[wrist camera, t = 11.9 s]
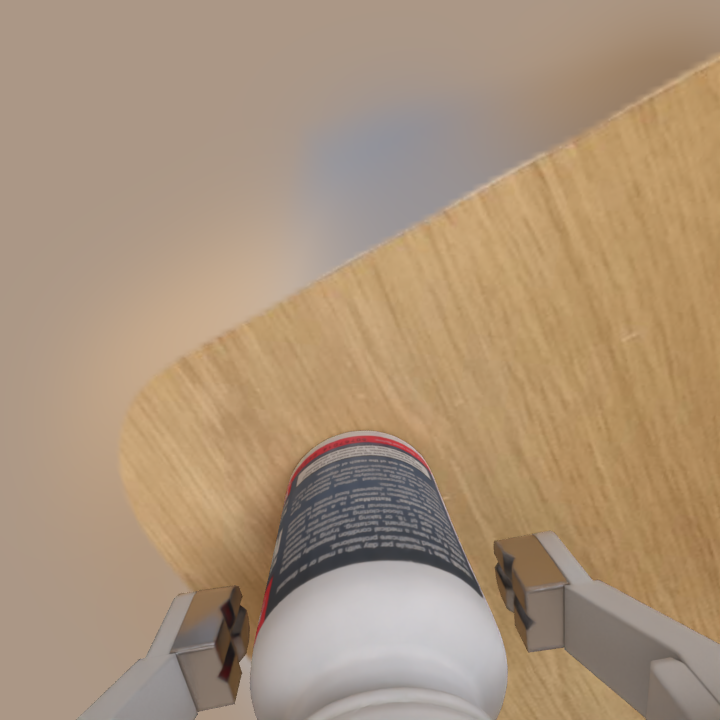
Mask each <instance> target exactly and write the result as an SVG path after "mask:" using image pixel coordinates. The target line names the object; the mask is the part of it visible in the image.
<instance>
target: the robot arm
mask: <svg viewBox="0 0 720 720" xmlns="http://www.w3.org/2000/svg"><path fill="white" fill-rule="evenodd" d="M494 554H495V556H496V558H497V560H498V563H497V565H496V566H495V573H496V580H497V584H498V588H499V591H500V594H501V597H502V599H503V601H504V603H505V606H506V608H507V609H509V610H510V611H511V612H513V613H514V619H515V626H516V628H517V631H518V633H519V635H520V637H521V639H522V641H523V643H524V645H525V647H526V649H527V651H528V652H535V651H542V650H549V649H556V648H563V647H565V650H566V651H567V652H568V653H569V654H571V655H572V656H573V657H574V658H575V659H576V660H578V661H579V662H580V663H581V664H582V665H584V666H585V667H586V668H587V669H588V670H589V671H591V672H592V673H593V674H594V675H595V676H597V677H598V678H599V679H600V680H601V681H602V682H604V683H605V684H606V685H607V686H608V687H610V688H611V689H612V690H613V691H614V692H615V693H617V694H618V695H619V696H620V697H621V698H623V699H624V700H625V701H626V702H627V703H628V704H630V705H631V706H632V707H633V708H634V709H636V710H637V711H638V712H639V713H640V714H641V715H643V716H644V717H645V718H646V720H720V644H718V643H716V642H714V641H712V640H711V639H709V638H707V637H705V636H703V635H701V634H699V633H698V632H696V631H694V630H692V629H690V628H688V627H686V626H684V625H683V624H681V623H679V622H677V621H675V620H673V619H671V618H669V617H668V616H666V615H664V614H662V613H660V612H658V611H656V610H655V609H653V608H651V607H649V606H647V605H645V604H643V603H641V602H640V601H638V600H636V599H634V598H632V597H630V596H628V595H627V594H625V593H623V592H621V591H619V590H617V589H615V588H613V587H612V586H610V585H608V584H606V583H604V582H602V581H600V580H595V581H593V580H592V579H591V577H590V576H589V575H588V574H587V572H586V571H585V570H584V569H583V568H582V566H581V565H580V564H579V563H578V561H577V560H576V559H575V558H574V556H573V555H572V554H571V553H570V551H569V550H568V549H567V548H566V546H565V545H564V544H563V543H562V541H561V540H560V539H559V538H558V536H557V535H556V534H555V533H554V532H552V531H545V532H540V533H534V534H532V535H524V536H519V537H513V538H508V539H502V540H497V541H494ZM241 600H242V594H241V591H240V588H239V586H236V585H234V586H227V587H220V588H213V589H206V590H200V591H196V592H189V593H182V594H179V595H178V596H176V598H174V600H173V602H172V604H171V606H170V608H169V610H168V612H167V615H166V616H165V618H164V620H163V623H162V625H161V627H160V629H159V631H158V633H157V635H156V637H155V639H154V641H153V643H152V645H151V647H150V649H149V651H148V654H147V656H146V658H144V659H139V660H138V661H137V662H136V663H135V664H134V665H133V666H132V667H131V668H130V669H129V670H127V671H126V672H125V673H124V674H123V675H122V676H121V677H120V678H119V679H118V680H117V681H116V682H115V683H114V684H113V685H112V686H111V687H110V688H109V689H108V690H107V691H106V692H104V694H102V695H101V696H100V697H99V698H98V699H97V700H96V701H95V702H94V703H93V704H92V705H91V706H90V707H89V708H88V709H87V710H86V711H85V712H84V713H83V714H82V715H80V716H79V717H78V718H77V719H76V720H194V719H195V718H196V716H197V715H198V713H197V712H199V711H203V710H208V709H213V708H218V707H222V706H227V705H232V704H235V700H236V696H237V691H238V687H239V683H240V678H241V674H242V672H241V669H240V665H239V662H240V661H241V659H242V658H243V657H244V656H245V654H246V653H247V648H248V643H249V632H250V625H249V617H248V613H247V610H246V609H245V608H243V607H242V606H241V605H240V603H241Z"/></svg>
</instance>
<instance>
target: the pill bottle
mask: <svg viewBox="0 0 720 720" xmlns="http://www.w3.org/2000/svg"><path fill="white" fill-rule="evenodd" d="M507 675H508V668H507V658H506V651H505V647H504V644H503V640H502V637H501V634H500V632H499V629H498V627H497V624H496V622H495V619H494V617H493V614H492V612H491V610H490V608H489V606H488V603H487V601H486V599H485V597H484V595H483V592H482V590H481V588H480V586H479V583H478V581H477V579H476V577H475V575H474V572H473V570H472V568H471V566H470V563H469V561H468V559H467V557H466V554H465V552H464V550H463V548H462V545H461V543H460V541H459V538H458V536H457V534H456V531H455V529H454V526H453V524H452V521H451V519H450V516H449V514H448V512H447V509H446V507H445V504H444V502H443V499H442V497H441V494H440V492H439V489H438V486H437V484H436V481H435V479H434V476H433V474H432V472H431V470H430V468H429V466H428V465H427V463H426V461H425V460H424V458H423V457H422V456H421V455H420V454H419V452H417V451H416V450H415V449H414V448H413V447H412V446H411V445H409V444H408V443H406V442H405V441H403V440H401V439H399V438H397V437H395V436H393V435H390V434H386V433H382V432H377V431H352V432H346V433H342V434H339V435H336V436H333V437H331V438H328V439H327V440H325V441H323V442H321V443H320V444H318V445H317V446H315V447H314V448H312V449H311V450H310V451H309V452H308V453H307V454H306V455H305V456H304V457H303V458H302V459H301V461H300V462H299V463H298V465H297V466H296V468H295V470H294V472H293V474H292V476H291V478H290V481H289V484H288V488H287V492H286V496H285V501H284V506H283V511H282V516H281V521H280V525H279V530H278V535H277V540H276V545H275V549H274V553H273V559H272V564H271V568H270V573H269V578H268V582H267V586H266V591H265V595H264V600H263V605H262V610H261V614H260V618H259V622H258V627H257V632H256V637H255V642H254V647H253V655H252V662H251V673H250V690H251V699H252V703H253V707H254V711H255V715H256V717H257V720H496V719H497V717H498V715H499V712H500V710H501V707H502V705H503V701H504V697H505V693H506V688H507Z"/></svg>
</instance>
